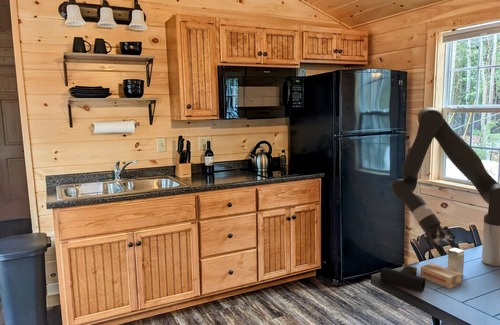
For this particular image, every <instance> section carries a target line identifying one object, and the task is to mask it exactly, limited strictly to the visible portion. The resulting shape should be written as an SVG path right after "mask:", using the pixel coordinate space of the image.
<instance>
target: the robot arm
mask: <svg viewBox="0 0 500 325" xmlns="http://www.w3.org/2000/svg"><path fill="white" fill-rule="evenodd" d="M417 120H418V121H417V122H418V126H417V132H416V136H415V138H414V141H413V143H412V145H411V147H410V148H409V150H408V152H407V154H406V157H405V159H404V161H403V164H402V167H401V172H402V174H403V177H402V178H398V179H395V180H393V182H392V184H391V190H392V193H393V194H394V195H395V196H396V197H397V198H398V199H399V200H400V201H401V202H402V203H403V204H405V206H406V207H407V208H408V209H409V211H410V213H411V214H412V216H413V218H414V219H415V221H416V222H417V223H418V225H419V226H420V228H421V229H422V231H423V233H422V237H423V239H424V241H425V242H426V243H427V245H428V247H429V248H434V249H435V250H436V251H437V252H438V254H439V255H440V256H441V257H443V256H445V255H447V253H446V251H445V249H444V248H443V246H442V245H441V244H440V241H445V242H446V243H448V245H449V246H450V249H452V248H458V249H460V248H459V246H458V244H457V243H456V242H455V240H456V238H457V237H456V235H454V233H453V232H452V231H451V229H450V228H449V227H448V226H447V225H446V226H444V227H442V226H441V223H442V222H441V221H440V219H439V218H438V216H436V214H435V213H434V212H433V210H432V208H430V206H429V205H428V204H427V203H426V201H425V200H424V199H423V198H422V197H421V195H419V194H415V193H414V191H415V190H416V188H417V185H418V184H417V183H418V178H419V173H420V170H421V167H422V165H423V162H424V160H425V159H426V158H425V157H426V155H427V152H428V150H429V148H430V146H431V144H432V142H433V139H435V140H436V141H437V143H438V144H439V145H440V148H441V149H442V151H443V152H444V153H445V155H446V157H447V158H448V159H449V160H450V162H451V163H452V164H453V165H454V166H455V168H456V169H457V170H458V171H459V172H460V173H462V174H463V176H464V177H465V178H466V179H468V180H469V181H470V182H471V184H472V185H473V186H474V188H475V189H476V190H477V192H478V193H479V195H480V196H481V198H482V199H483V201H484V202H486V203H487V204H488V208H487V209H488V210H487V213H486V214H484V215H483V229H482V230H483V231H482V248H481V249H482V252H481V261H482V263H484V264H486V265H489V266H493V267H500V183H499V182H498V181H497V180H495V178H494V177H492V175H490V173H488V171H487V170H486V168H485V166H484V162H482V159H481V157H480V156H479V155H478V154H477V152H476V151H475V150H474V149H473V148H472V146H471V145H469V144H468V142H467V141H466V140H465V139H463V138H462V137H461V136H460V135H459V134H458V133H457V132H455V131H454V129H452V127H451V126H450V125H449V123H448V122H447V120H445V118H444V116H443V113H442V112H441V111H440V110H439V109H438V108H435V107H432V106H431V107H430V106H427V107H425V108H422V109H421V110H420V111H419V113H418V116H417Z"/></svg>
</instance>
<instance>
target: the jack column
mask: <svg viewBox="0 0 500 325" xmlns="http://www.w3.org/2000/svg"><path fill="white" fill-rule="evenodd" d="M458 248H459V247H458ZM458 248H449V249H447V251H448V252H447V268H448V269H450V270H453V271H456V272H459V273H461V277H462V276H464V266H465V264H464V262H465V250H463V249H461V248H459V249H458Z"/></svg>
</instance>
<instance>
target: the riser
mask: <svg viewBox="0 0 500 325" xmlns="http://www.w3.org/2000/svg"><path fill="white" fill-rule="evenodd" d="M420 277H421V278H424V279H425V280H428V281H431V282H433V283H436V284H438V285H440V286H443V287H445V288H447V289H451V288H454V287H456V286H458V285H461V284H462V276H461V273H459V272H456V271H453V270H450V269H448V267H444V266H442V265H438V264H436V263H434V262H431V263H428V264H425V265H422V266H420Z"/></svg>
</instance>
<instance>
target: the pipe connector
mask: <svg viewBox="0 0 500 325" xmlns="http://www.w3.org/2000/svg"><path fill="white" fill-rule="evenodd" d="M417 271H418V268H417V267H415V266H412V265H408V264H406V265H405V266H403V268H402V269H401V270H400V271H398V270H395V269H393V268H392V269H391V268H388V267H382V268H381V271H380V273H379V274H380V275H379V278H380V280H381V281H382V282H383V281H384V282H387V283H390V284H393V285H396V286H400V287H404V288H407V289H410V290H414V291H418V292H420V293H423V291H424V290H425V288H426V279H425V278H423V277H421V276H418V272H417Z"/></svg>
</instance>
